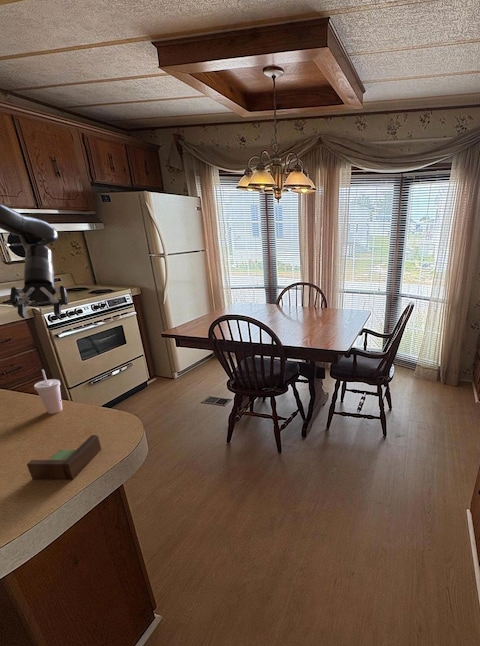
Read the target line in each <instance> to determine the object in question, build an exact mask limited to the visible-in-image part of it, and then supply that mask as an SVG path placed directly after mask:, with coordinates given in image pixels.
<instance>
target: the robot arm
mask: <svg viewBox="0 0 480 646" xmlns="http://www.w3.org/2000/svg"><path fill="white" fill-rule="evenodd" d="M0 229H1V230H3V231H5V232H7V233H9V234H11V235H15V236H19V239H20V242H21V244H22V247H23V249H24V252H25V255H24V256H25V261H24V268H23V269H24V270H23V271H24V272H23V274H24V275H23V276H24V277H23V281H24V282H23V283H24V284H23V285H24V286H23V288H16V287H15V286H12V287H11V288H10V295H9V304H11V306H12V307H13V308H17V315H18V316H19V317H21V318H22V319H26V318H27V307H28V306H29V305H31V304H32V303H33V302H35V303H37V302H47V301H50V302H51V303H52V304H53V314H54V316H55V317H60V315H61V314H62V306H67V305H68V304H69V301H68V293H67V290H66V287H65V286H64V285H60V286H59V287H55V269H54V264H53V263H54V261H53V252H52V250H51V248H49V247H48V245H50V244H53V243H55V242H57V240H58V238H59V234H58V231H57V230H56V228H55V227H54V226H53V225H52V224H50V223H49V222H47V221H45V220H43V219H40V218H36V217H33V216H29V215H25V214H22V213H19V212H17V211H16V210H14V209H12V208H10V207H9V206H7V205H4V204H2V203H0ZM56 293H58V295H60V299H58V298H56V297H55V296H54V295H55V294H56ZM22 294H23V295H22ZM20 297H21V298H20Z"/></svg>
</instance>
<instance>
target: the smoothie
mask: <svg viewBox="0 0 480 646" xmlns="http://www.w3.org/2000/svg"><path fill="white" fill-rule="evenodd" d="M41 372H42V376H43V380H40V381H38V382H36V383H35V384H34V385H33V389H34V390H35V391H36V392H37V394H38V396H39V399H40V400H41V402H42V404H43V405H44V408H45V410H46V411H47V413H48V414H49V415H50V414H51V415H53V414H58V413H60V412H62V411H63V402H62V394H61V387H60V386H61V381H60V380H59V379H55V378H51V379H47V376H46V372H45V369H41ZM60 400H61V401H60Z"/></svg>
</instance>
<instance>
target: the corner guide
mask: <svg viewBox="0 0 480 646" xmlns="http://www.w3.org/2000/svg"><path fill="white" fill-rule="evenodd" d="M101 450H102V446H101V443H100V438H99V435H98V434H91V435H90V436H89V437H88V438H87V439H86V440H85V441H84V442H83V443H82V444H81V445H80V446H78V448H76V449H58V451H56V453H55V454H53V455H52V456H51V457H49V459H31V460H30V461H29V462H27V463H26V466H27V469H28V471H29V474H30V477H31V479H32V481H33V480H34V481H40V480H42V481H43V480H48V481H51V480H52V481H53V480H65V481H67V480H68V481H69V480H70V481H71V480H72V481H73V480H74V479H76V478H77V476H78V475H80V473H81V472H82V471H83V470H84V468H85V467H86V466H88V464H89V463H90V462H91V461H92V460H93V459H94V458H95V457H96V456H97V455H98V454H99V452H100V451H101Z"/></svg>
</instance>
